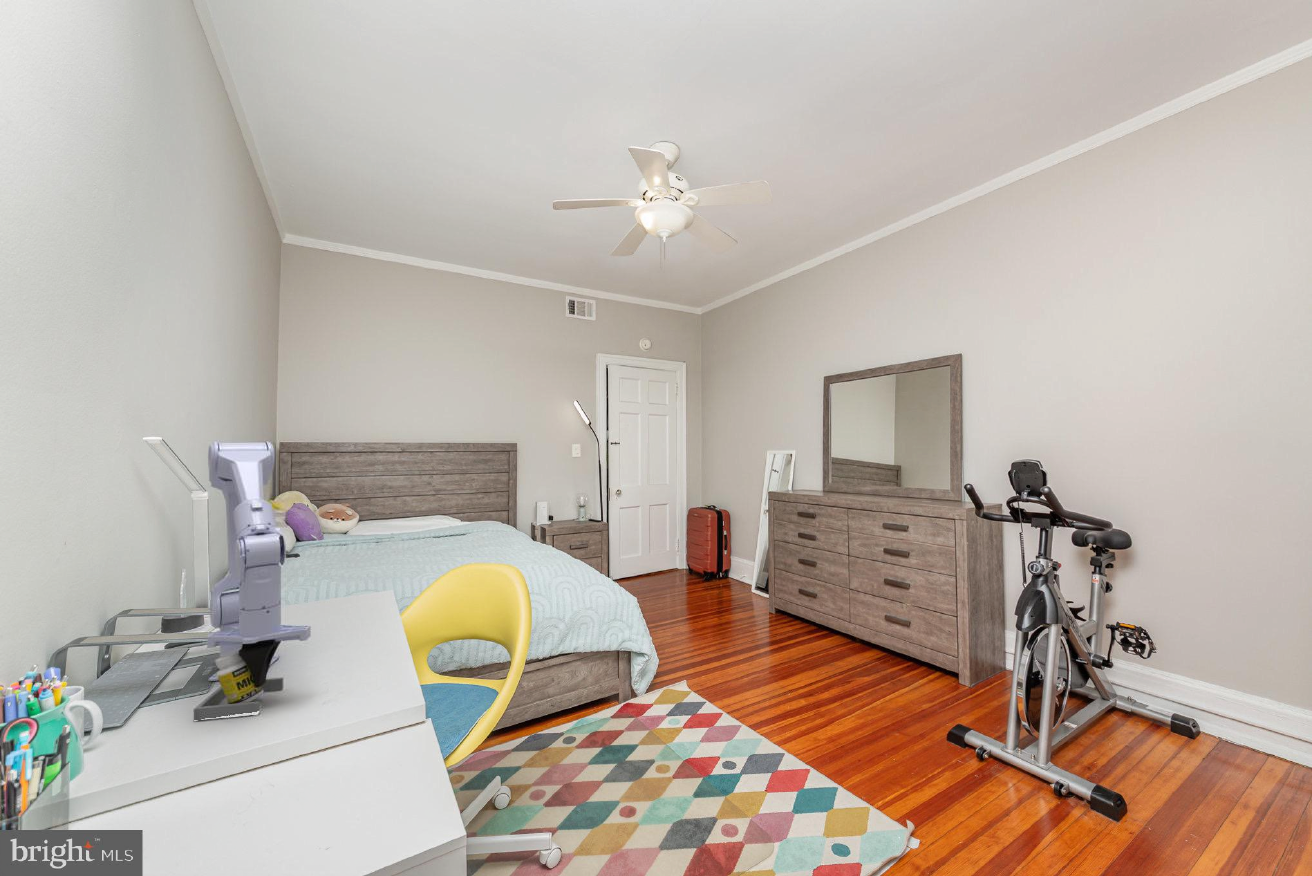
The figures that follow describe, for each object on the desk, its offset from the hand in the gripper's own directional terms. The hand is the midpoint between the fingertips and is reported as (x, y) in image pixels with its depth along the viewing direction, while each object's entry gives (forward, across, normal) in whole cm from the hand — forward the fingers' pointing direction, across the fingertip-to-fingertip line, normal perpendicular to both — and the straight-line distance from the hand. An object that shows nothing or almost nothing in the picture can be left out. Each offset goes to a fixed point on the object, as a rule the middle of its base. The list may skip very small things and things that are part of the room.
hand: (260, 684), depth 90 cm
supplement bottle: (+2, -2, 0) cm, 3 cm away
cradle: (+3, -3, 0) cm, 4 cm away
